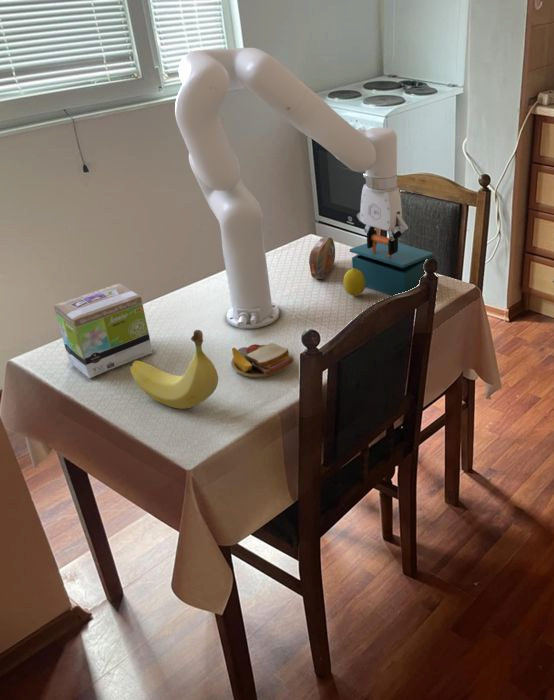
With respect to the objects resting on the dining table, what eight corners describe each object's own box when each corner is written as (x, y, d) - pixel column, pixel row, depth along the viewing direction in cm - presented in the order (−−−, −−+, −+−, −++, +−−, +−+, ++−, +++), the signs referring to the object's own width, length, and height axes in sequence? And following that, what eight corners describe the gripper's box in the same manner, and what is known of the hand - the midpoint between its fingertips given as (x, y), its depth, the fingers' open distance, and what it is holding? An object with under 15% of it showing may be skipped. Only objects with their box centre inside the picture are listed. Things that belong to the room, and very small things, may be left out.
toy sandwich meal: (273, 343, 166) (271, 325, 163) (302, 369, 157) (300, 350, 154) (222, 361, 160) (219, 342, 157) (249, 389, 150) (246, 370, 148)
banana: (127, 396, 148) (104, 311, 138) (148, 381, 153) (128, 298, 142) (211, 428, 139) (193, 339, 129) (231, 412, 144) (216, 325, 133)
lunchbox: (405, 299, 184) (404, 274, 180) (353, 282, 192) (351, 257, 188) (433, 281, 193) (434, 256, 189) (383, 265, 201) (382, 241, 198)
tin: (320, 284, 191) (317, 255, 187) (309, 283, 192) (306, 254, 188) (336, 260, 204) (335, 233, 199) (326, 259, 204) (324, 232, 200)
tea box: (90, 380, 153) (72, 320, 145) (69, 363, 159) (50, 304, 151) (154, 353, 162) (141, 294, 155) (132, 337, 168) (118, 280, 160)
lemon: (357, 303, 182) (356, 275, 178) (339, 298, 185) (338, 269, 181) (370, 295, 186) (368, 266, 182) (352, 289, 189) (351, 262, 184)
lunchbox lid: (402, 268, 178) (404, 246, 176) (349, 251, 187) (350, 230, 184) (433, 255, 189) (435, 235, 187) (382, 240, 197) (383, 220, 195)
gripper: (344, 178, 176) (347, 246, 186) (400, 192, 168) (400, 263, 177) (363, 170, 181) (365, 237, 191) (419, 184, 173) (418, 253, 182)
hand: (382, 249), depth 184 cm, fingers closed on lunchbox lid, 6 cm apart
